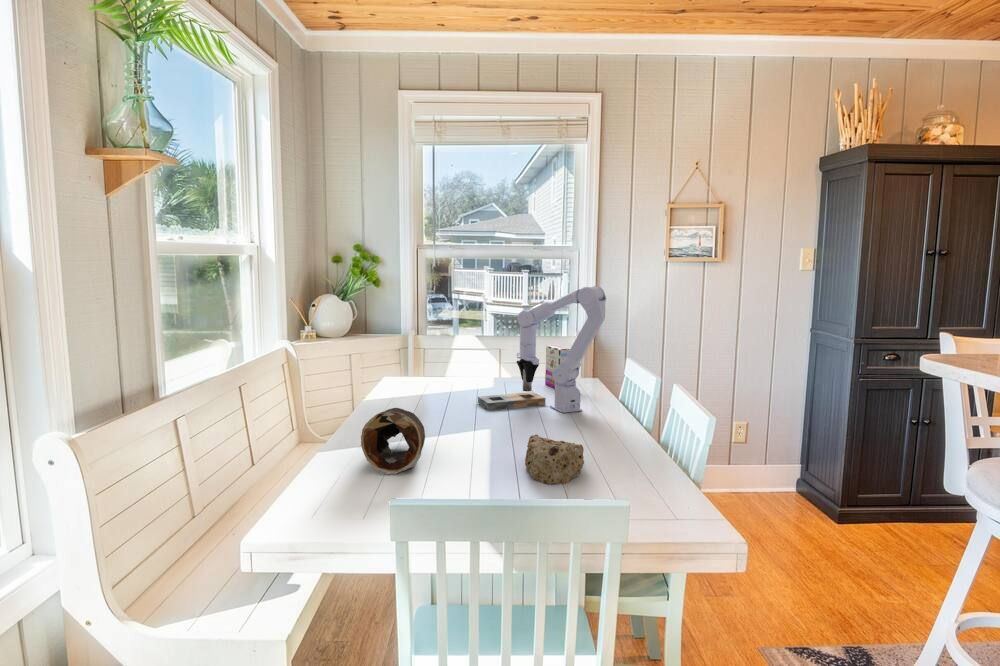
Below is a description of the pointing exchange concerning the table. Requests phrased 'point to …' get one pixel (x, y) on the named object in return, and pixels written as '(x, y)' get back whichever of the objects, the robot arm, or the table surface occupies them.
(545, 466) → the rock
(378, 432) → the hollow brown log
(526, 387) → the pin
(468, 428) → the table surface
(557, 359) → the candy bar box
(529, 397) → the dock board
